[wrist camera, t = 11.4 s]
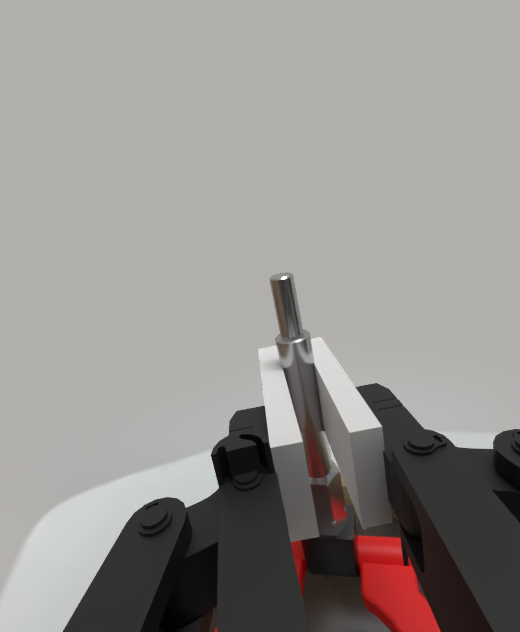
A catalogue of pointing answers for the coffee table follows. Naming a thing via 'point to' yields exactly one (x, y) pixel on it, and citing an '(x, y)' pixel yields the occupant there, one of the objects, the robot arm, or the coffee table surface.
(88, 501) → the coffee table surface
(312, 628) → the wooden rimmed bowl
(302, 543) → the tow hook
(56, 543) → the coffee table surface
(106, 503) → the coffee table surface
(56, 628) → the coffee table surface
